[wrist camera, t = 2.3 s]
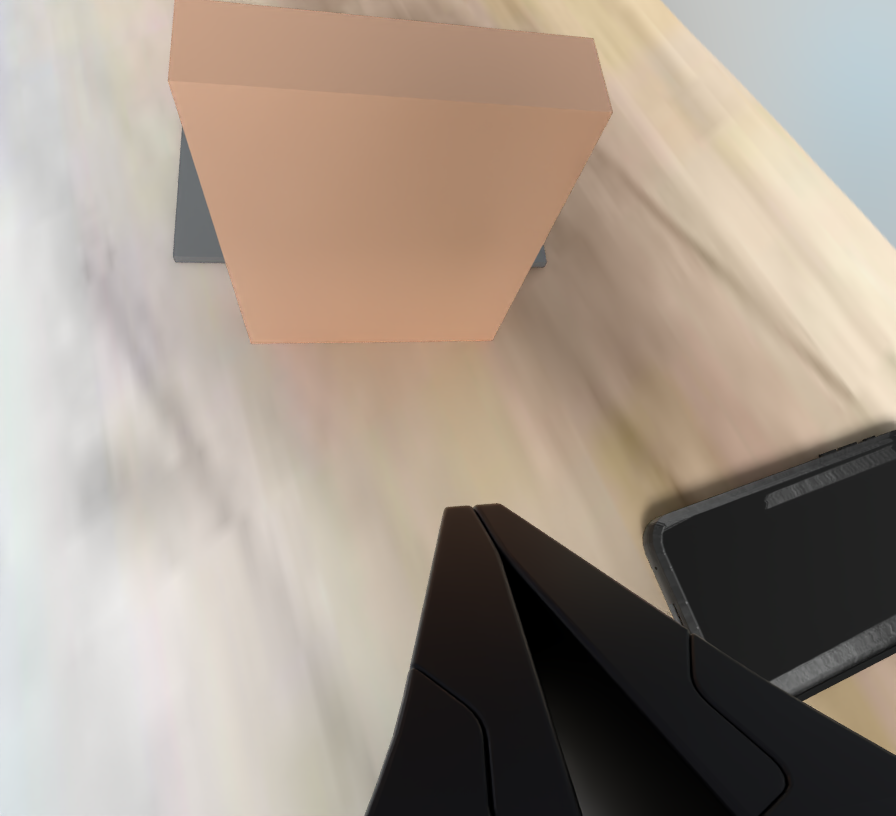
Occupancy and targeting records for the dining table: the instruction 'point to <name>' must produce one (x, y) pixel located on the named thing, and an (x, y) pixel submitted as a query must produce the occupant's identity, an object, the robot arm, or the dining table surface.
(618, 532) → the dining table surface
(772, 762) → the robot arm
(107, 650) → the dining table surface
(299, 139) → the glazed tile
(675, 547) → the phone
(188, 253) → the charcoal mat
